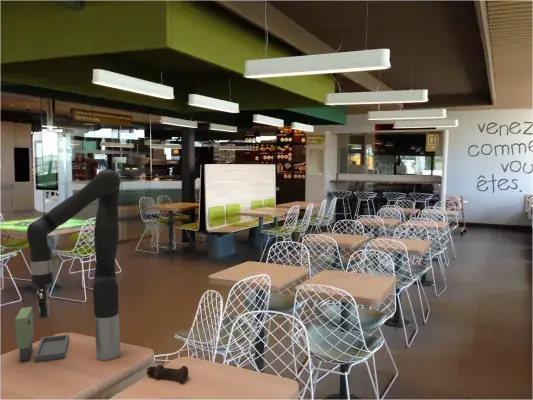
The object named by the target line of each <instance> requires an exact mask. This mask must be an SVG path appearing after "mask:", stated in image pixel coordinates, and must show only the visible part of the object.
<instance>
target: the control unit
mask: <svg viewBox="0 0 533 400" xmlns="http://www.w3.org/2000/svg"><path fill="white" fill-rule="evenodd" d="M33 312H34V310H33V306H28V307H21V308H20V310H19V312H18V314H17V315H16V317H15V318H14V325H15V339H16V350H19V362H22V363H23V362H27V361H30V359H31V355H32V353H33V350H34V349H33V338H34V336H35V329H34V315H33V314H34V313H33Z"/></svg>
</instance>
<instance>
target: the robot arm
mask: <svg viewBox="0 0 533 400" xmlns="http://www.w3.org/2000/svg"><path fill="white" fill-rule="evenodd" d="M121 182H122V181H121V177H120V175H119V173H118V172H117V171H116V170H113V169H110V168H109V169H107V168H106V169H102V170H100V171H99V172H97V174H96V175H95V176H94V178H92V179H91V180H90V181H89V182H88V183H87V184H86V185H85V186H83V187H82V188H81V189H80V190H78V191H77V192H75V193H73V195H71V196H69V197H67V198H66V199H64V200H63V201H61V202H60V203H59V204H57V205H56V206H54V207H53V208H52V209H50V210H49V211H48V212H47V213H46V214H44V215H43V216H41V217H40V218H38V219H37V220H35V221H32V222H31V223H29V225H28V226H27V230H26V238H27V243H28V246H29V249H30V251H29V252H30V253H29V255H30V277H31V278H30V279H31V281H30V282H31V285H32V286H36V287H37V289H36V295H37V296H36V297H37V300H38V303H37V308H38V307H39V308H40V316H41V317H46V316H47V300H48V298H49V297H50V293H49V291H50V287H49V285H50V284H52V283H54V275H53V274H54V273H53V272H54V271H53V262H52V254H51V247H50V245H49V244H48V235H49V234H51V233H53V231H55V230H56V229H58V228H59V227H60V226H62V225H64V224H65V223H67V222H68V221H70V220H71V219H72V218H74V217H75V216H77V214H79V213H80V212H81V211H83V209H85V208H86V207H87V206H88V205H90V204H91V203H93V202H95V201H96V200H98V207H97V211H96V215H95V223H94V231H93V232H94V233H93V234H94V235H93V242H94V243H93V245H94V246H93V247H94V255H95V270H94V271H95V272H94V278H93V283H92V293H93V295H92V296H93V314H94V316H93V317H94V332H95V333H94V334H95V335H94V336H95V338H94V339H95V354H96V356H95V357H96V359H97V360H100V361H109V360H113V359H116V358H119V357H121V339H120V338H121V337H120V317H119V316H120V314H119V306H120V305H119V286H118V282H117V275H116V256H117V252H118V248H119V240H120V239H119V237H120V235H119V234H120V233H119V232H120V231H119V230H120V225H119V223H120V222H119V221H120V220H119V206H118V203H119V193H120V188H121V187H120V186H121ZM45 298H46V299H45ZM49 299H50V298H49ZM41 302H44V304H41Z"/></svg>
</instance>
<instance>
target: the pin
mask: <svg viewBox="0 0 533 400" xmlns="http://www.w3.org/2000/svg"><path fill="white" fill-rule="evenodd" d="M45 299H46V298H45ZM36 301H37V304H38V299H37V300H36ZM41 304H44V302H41ZM50 308H51V307H50V298H48V300H47V316H46V317H41V316H40V308H39V307H38V306H37V313H38V319H47V318H49V317H50V316H51V311H50Z"/></svg>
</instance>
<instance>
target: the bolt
mask: <svg viewBox="0 0 533 400" xmlns="http://www.w3.org/2000/svg"><path fill="white" fill-rule="evenodd" d="M146 375H147V376H151V377H154V378H155V379H156V380H161V379H162V378H167V379H168V378H169V379H175V380H178V381H179V383H180V384H184V383H185V382H186V381H188V378H189V368H188V367H187V366H186V365H182V366H181V367H180V368H170V367H164V365H163V364H157V365H156V366H152V365H151V366H148V367H147V370H146Z"/></svg>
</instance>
